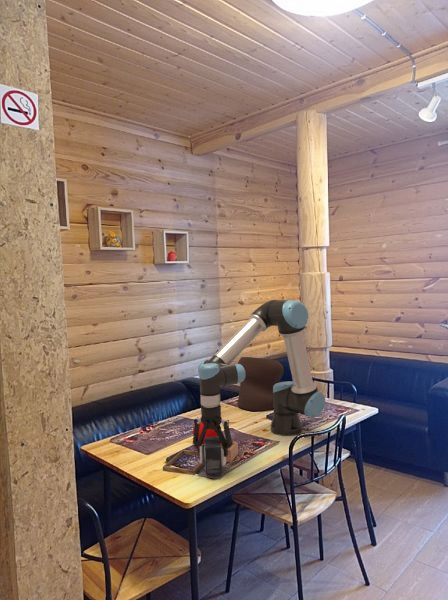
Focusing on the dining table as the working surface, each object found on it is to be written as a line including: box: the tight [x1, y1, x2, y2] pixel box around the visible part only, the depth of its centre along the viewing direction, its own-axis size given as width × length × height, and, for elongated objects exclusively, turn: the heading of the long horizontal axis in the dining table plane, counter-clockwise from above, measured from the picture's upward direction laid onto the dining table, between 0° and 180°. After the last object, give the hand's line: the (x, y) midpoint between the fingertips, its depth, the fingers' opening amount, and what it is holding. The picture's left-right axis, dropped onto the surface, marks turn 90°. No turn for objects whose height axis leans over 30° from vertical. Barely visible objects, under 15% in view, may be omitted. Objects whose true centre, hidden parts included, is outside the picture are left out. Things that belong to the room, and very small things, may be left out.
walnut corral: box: [162, 449, 205, 476], centre depth 179 cm, size 14×18×2 cm
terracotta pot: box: [220, 440, 239, 463], centre depth 184 cm, size 9×9×5 cm
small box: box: [204, 436, 223, 474], centre depth 169 cm, size 11×6×10 cm, turn 4°
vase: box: [237, 356, 285, 412], centre depth 254 cm, size 27×27×30 cm
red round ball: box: [192, 422, 218, 444], centre depth 197 cm, size 13×13×13 cm
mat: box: [197, 466, 229, 480], centre depth 170 cm, size 9×9×1 cm
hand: (213, 463), depth 169 cm, fingers closed on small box, 8 cm apart
